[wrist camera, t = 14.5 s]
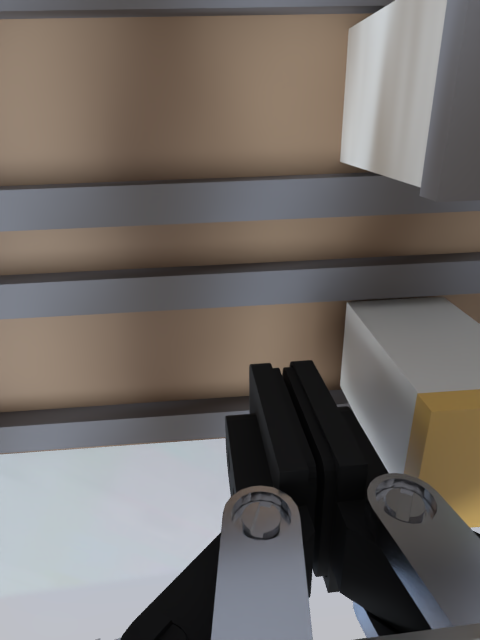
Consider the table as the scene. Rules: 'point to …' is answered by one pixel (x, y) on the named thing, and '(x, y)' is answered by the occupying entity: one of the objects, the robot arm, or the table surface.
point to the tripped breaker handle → (418, 392)
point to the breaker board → (219, 199)
